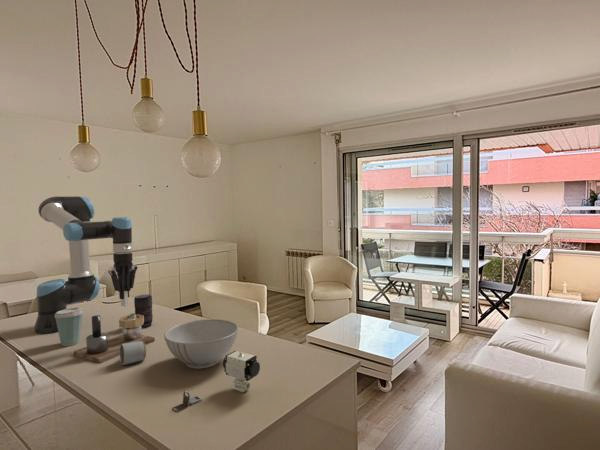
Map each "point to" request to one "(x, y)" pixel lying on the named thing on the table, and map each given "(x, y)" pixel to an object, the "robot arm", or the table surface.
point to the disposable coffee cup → (69, 325)
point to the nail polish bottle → (96, 338)
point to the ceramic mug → (132, 352)
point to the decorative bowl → (201, 341)
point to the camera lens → (144, 309)
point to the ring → (131, 321)
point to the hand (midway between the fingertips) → (124, 305)
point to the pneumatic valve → (241, 369)
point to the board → (111, 348)
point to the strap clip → (187, 402)
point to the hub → (132, 332)
